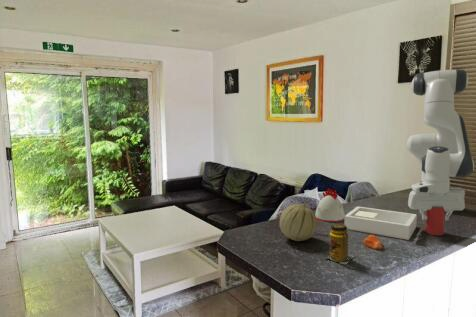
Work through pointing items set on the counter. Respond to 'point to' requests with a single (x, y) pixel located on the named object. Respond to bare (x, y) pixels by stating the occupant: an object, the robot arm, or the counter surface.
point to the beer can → (435, 221)
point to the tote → (382, 223)
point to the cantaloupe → (298, 222)
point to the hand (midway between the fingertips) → (435, 220)
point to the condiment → (339, 244)
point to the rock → (372, 242)
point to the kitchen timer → (330, 208)
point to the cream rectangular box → (367, 215)
